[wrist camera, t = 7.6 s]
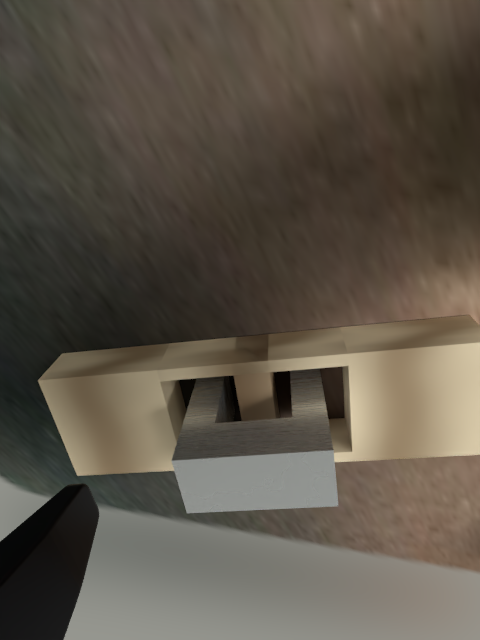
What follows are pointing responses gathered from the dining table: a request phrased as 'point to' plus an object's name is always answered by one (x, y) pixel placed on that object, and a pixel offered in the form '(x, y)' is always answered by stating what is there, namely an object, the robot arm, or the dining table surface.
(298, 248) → the dining table surface
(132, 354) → the rail
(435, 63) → the dining table surface
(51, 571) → the robot arm
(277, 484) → the clip
